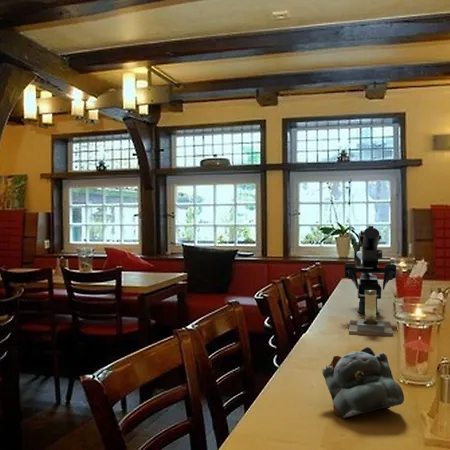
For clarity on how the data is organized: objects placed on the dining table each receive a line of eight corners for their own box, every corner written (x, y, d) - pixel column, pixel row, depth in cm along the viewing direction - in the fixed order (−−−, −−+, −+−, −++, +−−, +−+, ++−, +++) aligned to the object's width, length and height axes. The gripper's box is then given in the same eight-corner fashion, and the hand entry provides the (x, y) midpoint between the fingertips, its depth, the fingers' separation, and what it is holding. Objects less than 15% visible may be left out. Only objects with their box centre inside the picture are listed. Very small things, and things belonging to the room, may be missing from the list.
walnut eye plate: (350, 322, 197) (350, 313, 197) (389, 323, 193) (389, 315, 193) (349, 334, 177) (349, 325, 177) (393, 336, 174) (393, 327, 174)
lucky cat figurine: (327, 421, 103) (311, 350, 109) (338, 424, 113) (323, 359, 120) (405, 406, 99) (384, 333, 105) (409, 411, 109) (390, 344, 116)
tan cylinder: (364, 326, 183) (364, 289, 182) (376, 327, 182) (376, 290, 182) (364, 328, 179) (364, 291, 179) (376, 329, 178) (376, 291, 178)
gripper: (344, 241, 202) (343, 274, 191) (396, 242, 197) (398, 275, 187) (345, 260, 210) (344, 292, 199) (394, 261, 205) (396, 294, 195)
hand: (370, 288), depth 195 cm, fingers open, 9 cm apart
